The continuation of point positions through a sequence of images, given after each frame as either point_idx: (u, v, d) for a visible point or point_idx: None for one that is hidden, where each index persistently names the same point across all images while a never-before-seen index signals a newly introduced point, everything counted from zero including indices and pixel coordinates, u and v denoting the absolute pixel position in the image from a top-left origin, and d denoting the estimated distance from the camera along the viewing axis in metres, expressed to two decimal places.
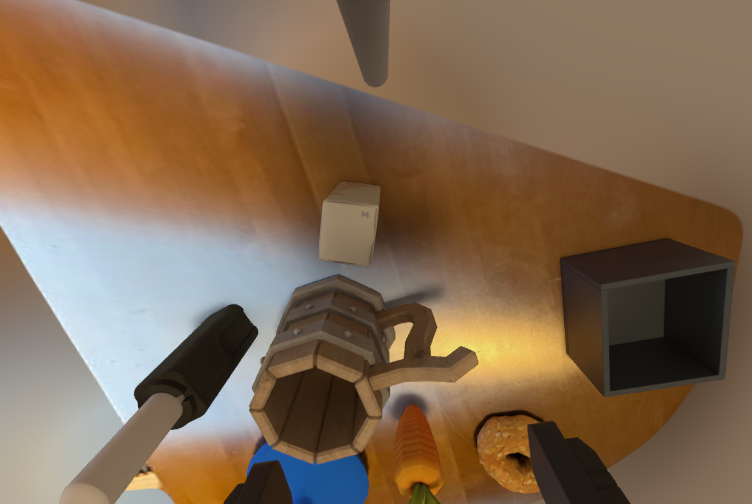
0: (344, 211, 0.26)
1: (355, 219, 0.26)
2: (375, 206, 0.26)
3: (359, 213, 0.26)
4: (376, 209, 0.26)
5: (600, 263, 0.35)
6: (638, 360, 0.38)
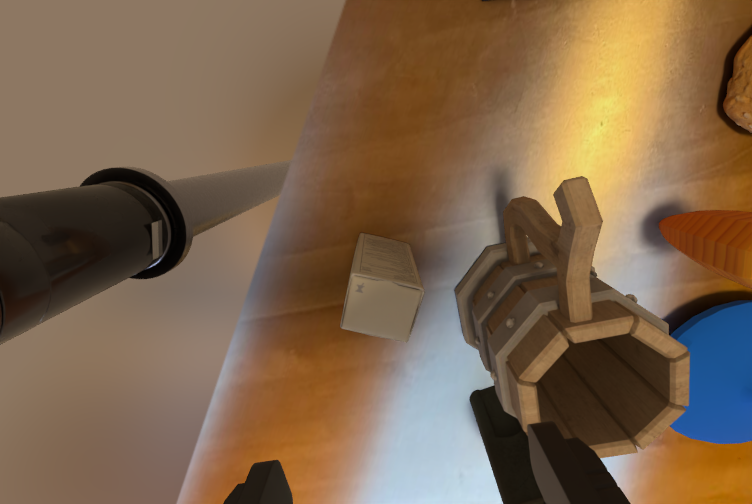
0: (354, 309, 0.24)
1: (364, 299, 0.23)
2: (352, 276, 0.23)
3: (358, 294, 0.23)
4: (355, 275, 0.23)
5: None
6: None
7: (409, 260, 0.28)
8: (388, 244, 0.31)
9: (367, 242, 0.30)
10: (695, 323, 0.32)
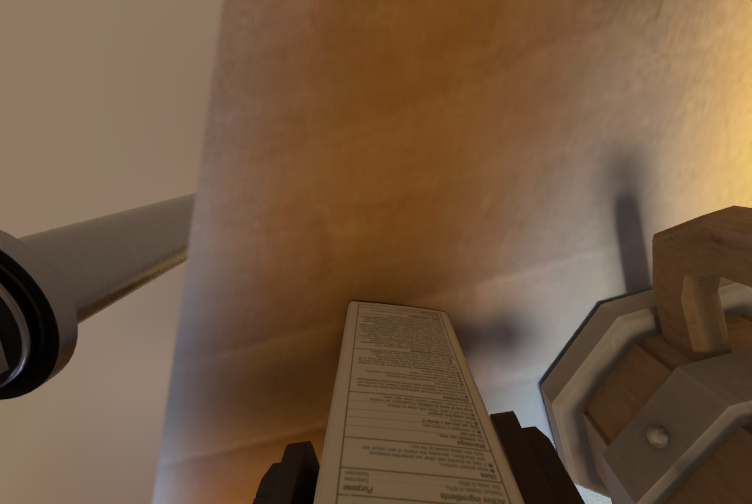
0: None
1: None
2: None
3: None
4: None
5: None
6: None
7: (462, 383, 0.12)
8: (407, 328, 0.15)
9: (363, 334, 0.14)
10: None
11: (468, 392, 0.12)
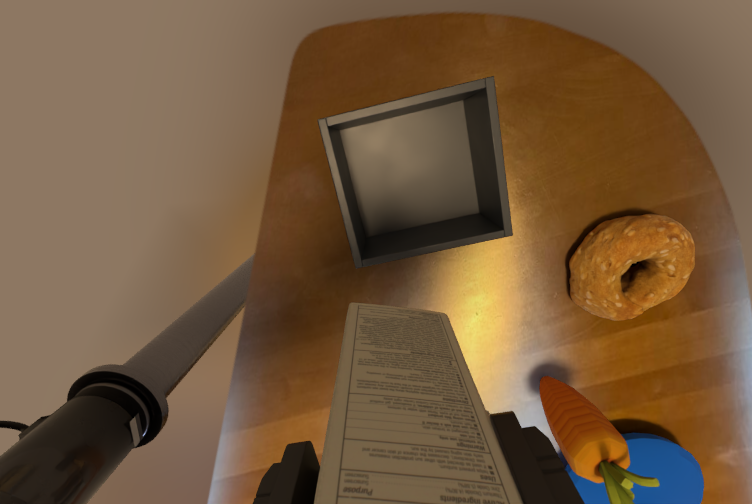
0: None
1: None
2: None
3: None
4: None
5: None
6: (481, 159, 0.28)
7: (462, 385, 0.12)
8: (407, 329, 0.15)
9: (363, 335, 0.14)
10: None
11: (468, 394, 0.12)
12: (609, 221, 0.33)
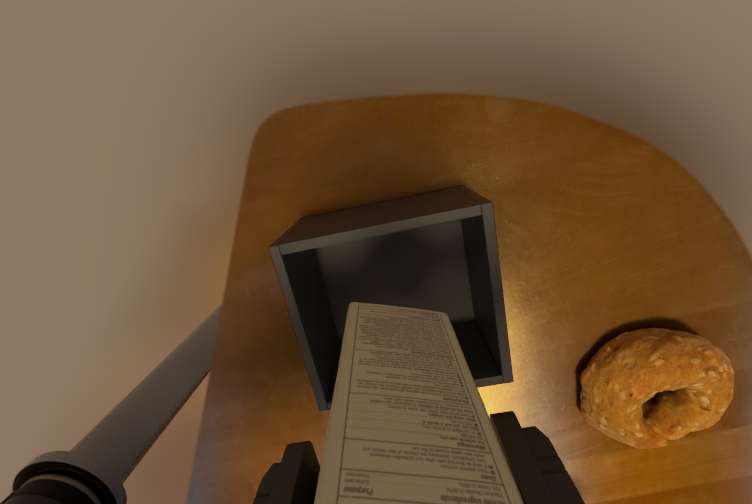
0: None
1: None
2: None
3: None
4: None
5: None
6: (476, 275, 0.23)
7: (462, 384, 0.12)
8: (407, 329, 0.15)
9: (363, 335, 0.14)
10: None
11: (468, 393, 0.12)
12: (630, 335, 0.27)
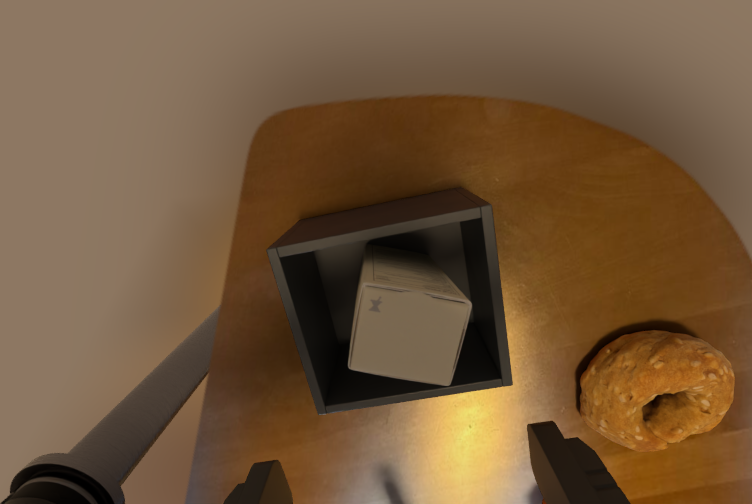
0: (368, 338, 0.16)
1: (383, 322, 0.15)
2: (363, 287, 0.15)
3: (373, 314, 0.15)
4: (368, 286, 0.15)
5: None
6: (476, 278, 0.23)
7: (437, 270, 0.21)
8: (404, 254, 0.24)
9: (377, 252, 0.23)
10: None
11: (440, 272, 0.20)
12: (630, 337, 0.27)
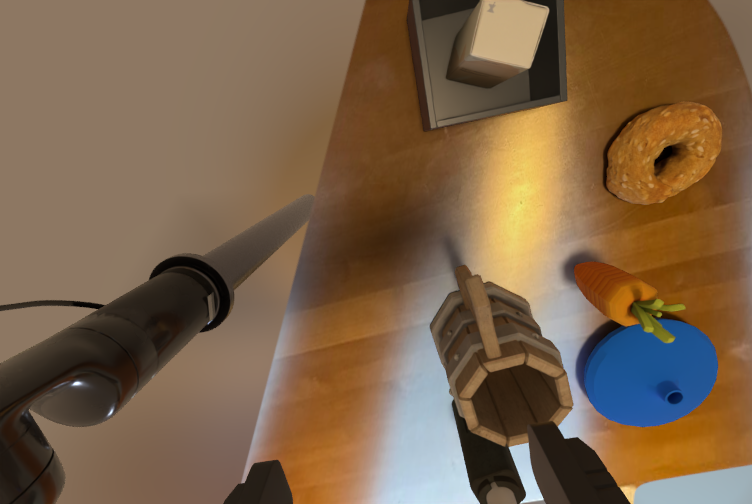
0: (484, 32, 0.26)
1: (494, 20, 0.26)
2: None
3: (489, 14, 0.26)
4: None
5: (422, 105, 0.36)
6: (539, 42, 0.33)
7: None
8: None
9: None
10: (609, 339, 0.43)
11: None
12: (646, 112, 0.37)
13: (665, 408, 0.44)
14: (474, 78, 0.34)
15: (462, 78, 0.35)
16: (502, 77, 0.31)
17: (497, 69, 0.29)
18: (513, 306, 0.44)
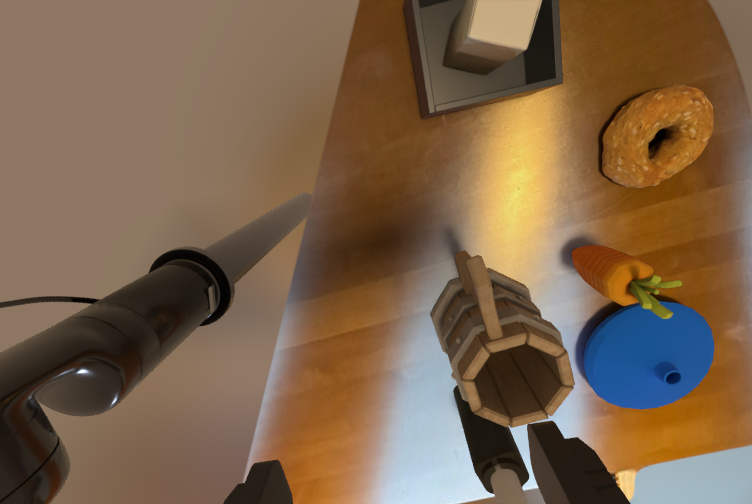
0: (482, 14, 0.27)
1: (491, 2, 0.27)
2: None
3: None
4: None
5: (420, 92, 0.36)
6: (534, 27, 0.34)
7: None
8: None
9: None
10: (607, 322, 0.44)
11: None
12: (639, 96, 0.38)
13: (664, 389, 0.44)
14: (471, 64, 0.35)
15: (459, 64, 0.36)
16: (499, 61, 0.32)
17: (494, 52, 0.30)
18: (513, 292, 0.44)
